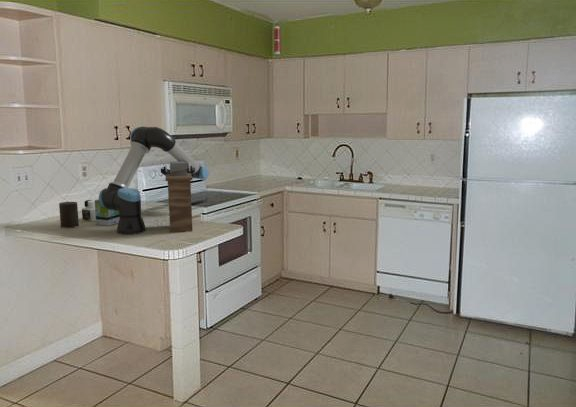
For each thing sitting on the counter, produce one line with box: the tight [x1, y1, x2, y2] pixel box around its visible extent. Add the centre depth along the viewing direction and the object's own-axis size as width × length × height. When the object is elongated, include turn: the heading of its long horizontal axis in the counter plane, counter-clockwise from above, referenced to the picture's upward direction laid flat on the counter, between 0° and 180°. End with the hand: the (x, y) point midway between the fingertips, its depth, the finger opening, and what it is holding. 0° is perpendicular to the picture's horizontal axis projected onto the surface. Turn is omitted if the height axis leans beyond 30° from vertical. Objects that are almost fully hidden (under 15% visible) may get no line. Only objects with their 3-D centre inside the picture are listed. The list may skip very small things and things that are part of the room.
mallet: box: [169, 161, 187, 176], centre depth 286 cm, size 25×9×7 cm, turn 13°
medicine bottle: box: [81, 199, 96, 222], centre depth 302 cm, size 7×7×12 cm
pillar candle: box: [58, 201, 80, 229], centre depth 286 cm, size 10×10×15 cm
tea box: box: [94, 199, 119, 227], centre depth 293 cm, size 15×10×15 cm, turn 159°
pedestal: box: [165, 173, 193, 233], centre depth 277 cm, size 19×14×30 cm
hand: (177, 164), depth 291 cm, fingers open, 13 cm apart
